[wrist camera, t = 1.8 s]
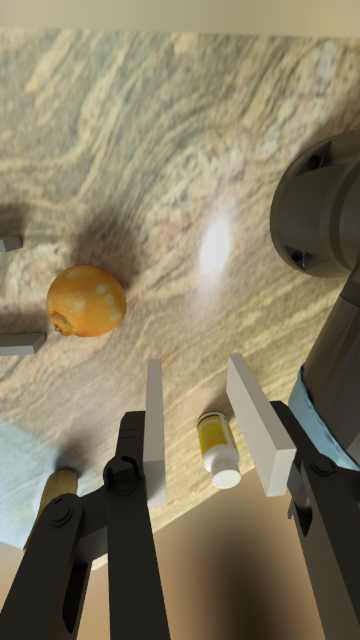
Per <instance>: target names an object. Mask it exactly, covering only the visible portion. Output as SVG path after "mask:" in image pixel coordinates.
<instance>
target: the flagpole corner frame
mask: <svg viewBox="0 0 360 640" xmlns="http://www.w3.org/2000/svg"><path fill="white" fill-rule="evenodd" d="M19 248H23V247H22V243H21V239H20V237H0V252H8V251H12V250H15V249H19ZM45 342H46V337H45V333H23V334H1V335H0V356H8V355H28V354H36V352H37V351H38V350H39V349H40V348H41V346H42V345H43V344H44V343H45Z"/></svg>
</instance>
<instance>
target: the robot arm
mask: <svg viewBox="0 0 360 640" xmlns="http://www.w3.org/2000/svg"><path fill="white" fill-rule="evenodd" d="M270 232H271V237H272V241H273V244H274V246H275V248H276V250H277V252H278V254H279V255H280V257H281V258H282V259H283V260H284V261H285V262H286V263H287V264H288V265H290V266H291V267H293V268H294V269H296V270H298V271H301V272H303V273H306V274H308V275H312V276H317V277H339V276H349V278H348V280H347V282H346V284H345V286H344V288H343V290H342V292H341V293H340V295H339V297H338V298H337V300H336V302H335V304H334V306H333V308H332V310H331V312H330V314H329V316H328V318H327V320H326V322H325V324H324V326H323V328H322V330H321V332H320V334H319V336H318V338H317V339H316V341H315V343H314V345H313V347H312V349H311V351H310V353H309V355H308V357H307V359H306V361H305V362H304V363H303V364H302V365H301V367H300V370H299V371H298V378H297V381H296V383H295V385H294V387H293V390H292V392H291V394H290V397H289V401H288V406H287V405H285V404H284V403H283V402H282V401H268V399H267V397H266V395H265V394H264V392H263V390H262V389H261V387H260V385H259V384H258V382H257V380H256V378H255V377H254V375H253V373H252V372H251V370H250V368H249V367H248V365H247V363H246V361H245V360H244V358H243V356H242V355H241V354H239V355H229V362H228V374H227V386H226V392H227V395H228V397H229V400H230V402H231V405H232V408H233V410H234V413H235V415H236V418H237V420H238V423H239V426H240V428H241V431H242V433H243V436H244V439H245V441H246V444H247V446H248V449H249V452H250V454H251V457H252V459H253V462H254V465H255V467H256V470H257V472H258V475H259V478H260V480H261V482H262V485H263V488H264V490H265V493H266V496H267V497H269V496H279V495H285V492H286V488H287V487H288V489H289V491H290V493H291V495H292V499H291V503H290V506H289V510H288V519H291V517H292V514H293V516H294V520H295V523H296V527H297V531H298V535H299V539H300V543H301V547H302V550H303V554H304V558H305V562H306V566H307V570H308V573H309V577H310V581H311V585H312V589H313V593H314V596H315V600H316V604H317V608H318V611H319V616H320V619H321V623H322V627H323V631H324V635H325V639H326V640H360V130H357V131H350V132H345V133H341V134H338V135H336V136H333V137H331V138H328V139H326V140H324V141H321V142H319V143H317V144H316V145H314V146H312V147H311V148H309V149H308V150H307V151H305V152H304V153H303V154H302V155H301V156H299V157H298V158H297V159H296V160H295V161H294V163H293V164H292V165H291V166H290V167H289V169H288V170H287V172H286V173H285V175H284V176H283V178H282V180H281V181H280V183H279V185H278V188H277V190H276V192H275V195H274V198H273V202H272V206H271V212H270ZM103 480H104V485H103V486H102V487H100V488H99V489H97V490H96V491H94V492H91V493H89V494H87V495H84V496H82V497H79V496H77V495H76V494H73V493H65V494H61V495H59V496H57V497H56V498H54V499H52V500H51V501H50V502H49V503H48V504H47V505H46V506H45V508H44V510H43V511H42V513H41V515H40V517H39V519H38V522H37V524H36V527H35V529H34V532H33V534H32V537H31V539H30V541H29V544H28V546H27V549H26V551H25V554H24V556H23V559H22V561H21V564H20V566H19V569H18V571H17V573H16V576H15V579H14V581H13V583H12V586H11V588H10V591H9V593H8V596H7V598H6V600H5V603H4V605H3V608H2V610H1V613H0V640H76V638H77V634H78V629H79V624H80V620H81V615H82V610H83V605H84V600H85V595H86V590H87V586H88V581H89V575H90V571H91V566H92V561H93V560H95V559H97V558H99V557H101V556H103V555H105V554H107V553H108V576H109V577H108V578H109V606H110V607H109V609H110V640H171V639H170V633H169V627H168V622H167V615H166V610H165V604H164V598H163V592H162V586H161V581H160V574H159V569H158V563H157V557H156V551H155V546H154V540H153V534H152V528H151V522H150V516H149V510H148V509H149V508H159V507H167V502H166V474H165V445H164V417H163V390H162V368H161V359H148V374H147V393H146V411H132V412H126V414H125V415H124V417H123V418H122V420H121V423H120V429H119V435H118V441H117V447H116V453H115V456H114V457H113V458H112V459H111V460H110V461H108V463H107V464H106V466H105V468H104V471H103Z"/></svg>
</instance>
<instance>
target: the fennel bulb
mask: <svg viewBox="0 0 360 640" xmlns="http://www.w3.org/2000/svg"><path fill="white" fill-rule="evenodd" d="M77 488H78V478H77V474H76V472H74V471H73V470H70V469H62V470H58V471H56V472H54V473H53V474H51V475H50V476H49V478H48V480H47V482H46V485H45V488H44V491H43V494H42V498H41V502H40V507H39V511H38V514H37V518H36V520H35V523H34V525H33V528H32V530H31V533H30V535H29V537H28V539H27V542H26V544H25V546H24V548H23V551H24V553H25V551H26V549H27V546H28V544H29V541H30V539H31V537H32V534H33V532H34V529H35V527H36V524H37V522H38V519H39V517H40V515H41V513H42V511H43V510H44V508H45V506H46V505H47V504H48V503H49V502H50V501H51V500H52V499H54V498H56V497H57V496H59V495H61V494H65V493H73V494H76V493H77Z"/></svg>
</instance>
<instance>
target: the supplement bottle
mask: <svg viewBox="0 0 360 640" xmlns="http://www.w3.org/2000/svg"><path fill="white" fill-rule="evenodd" d="M197 432H198V437H199V442H200V447H201V453H202V458H203V463H204V466H205V467H206V469H207V470H208V471H210V473H211V479H212V483H213V485H214V486H216V487H218V488H222V489H225V488H230V487H233V486H235V485H236V484H237V483H238V482H239V481H240V479H241V475H240V471H239V468H238V463H239V460H240V456H239V452H238V449H237V446H236V443H235V440H234V437H233V434H232V431H231V429H230V426H229V423H228V420H227V418H226V417H225V415H223V414H221V413H219V412H210V413H206V414H204V415H203V416H202V417H200V419H199V420H198V422H197Z"/></svg>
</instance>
